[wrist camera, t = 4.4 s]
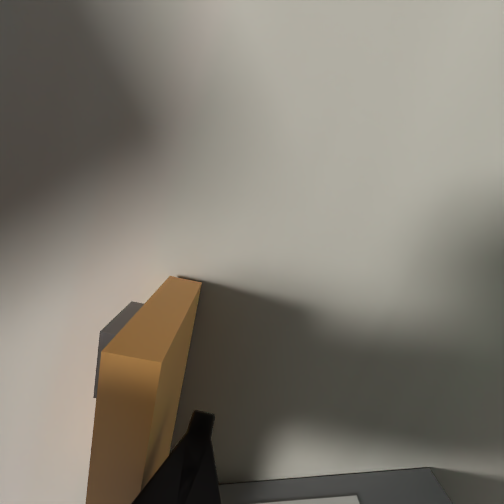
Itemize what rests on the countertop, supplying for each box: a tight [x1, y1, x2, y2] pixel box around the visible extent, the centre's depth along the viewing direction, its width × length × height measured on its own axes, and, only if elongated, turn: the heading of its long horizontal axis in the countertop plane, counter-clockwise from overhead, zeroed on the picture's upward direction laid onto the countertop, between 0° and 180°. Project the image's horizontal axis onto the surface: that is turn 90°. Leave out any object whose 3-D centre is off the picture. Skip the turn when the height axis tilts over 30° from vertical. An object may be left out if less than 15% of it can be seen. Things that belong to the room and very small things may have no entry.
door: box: [86, 276, 202, 504], centre depth 9 cm, size 2×11×5 cm, turn 167°
